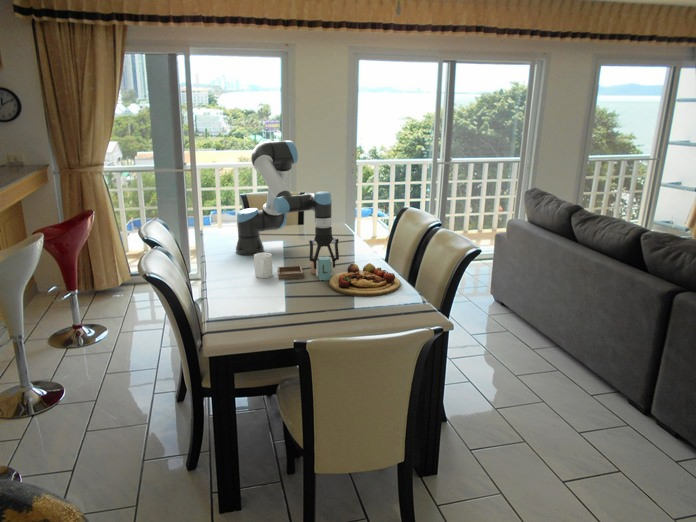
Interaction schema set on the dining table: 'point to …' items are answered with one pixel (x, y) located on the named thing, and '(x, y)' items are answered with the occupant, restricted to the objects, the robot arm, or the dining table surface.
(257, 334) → the dining table surface
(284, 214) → the robot arm
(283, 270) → the walnut box
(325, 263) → the teal block
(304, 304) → the dining table surface
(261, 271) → the mug
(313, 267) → the terracotta pot
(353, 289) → the wooden plate with food
